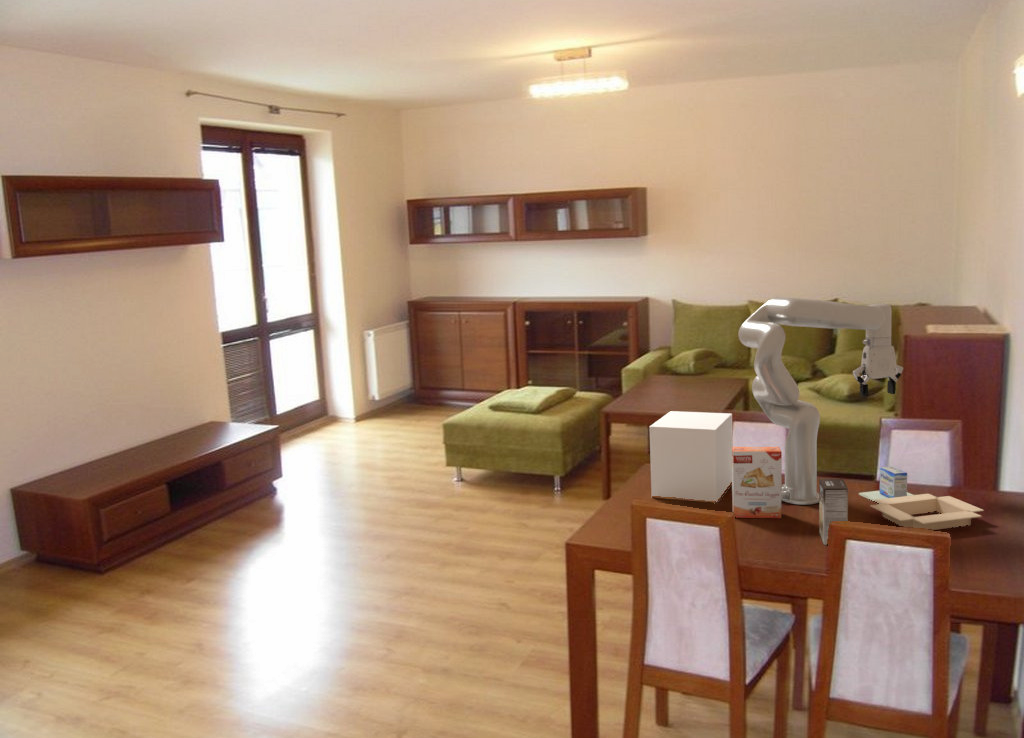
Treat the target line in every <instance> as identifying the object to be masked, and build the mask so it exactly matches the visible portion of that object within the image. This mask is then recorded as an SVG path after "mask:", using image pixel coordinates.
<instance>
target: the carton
mask: <svg viewBox="0 0 1024 738" xmlns="http://www.w3.org/2000/svg"><path fill="white" fill-rule="evenodd" d="M874 501H875V502H878V503H880V504H877V503H876V504H870V505H869V506H870V507H871V508H873V509H875V510H876V511H879V512H881V513H882V514H881V516H883V517H885V518H887V519H888V521H889V520H890V522H891V521H892V523H893V522H895V523H896V525H897V524H898V526H899V527H901V526H904V527H914V528H925V529H932V530H931V531H935V530H942V529H951V528H952V527H953V528H959V526H961V527H967V526H966V525H968V526H971V525H972V519H976V518H982V515H981V514H978V513H977V512H984V511H985V510H984V509H982V508H980V507H978V506H975V505H973V504H970V503H968V502H965V501H962V500H961V499H958V498H955V497H953V496H951V495H946V496H944V495H943V496H935V495H933V494H931V493H921V494H913V495H911V496H903V497H894V498H886V499H877V500H874ZM875 502H874V503H875ZM934 511H937V512H936V513H938V512H939V513H938V514H929V515H921V516H920V514H927V513H928V512H930V513H935V512H934ZM940 513H941V514H940ZM918 514H919V516H913V515H918ZM883 517H882V518H883ZM885 518H884V519H885ZM887 519H886V520H887ZM895 523H894V524H895Z"/></svg>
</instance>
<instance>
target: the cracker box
mask: <svg viewBox="0 0 1024 738" xmlns="http://www.w3.org/2000/svg"><path fill="white" fill-rule="evenodd" d="M782 456H783V455H782V450H781V449H780V446H733V447H732V484H731V497H732V499H731V500H732V501H731V504H732V506H731V508H732V510H731V511H732V513H733V512H734V513H735V514H736V518H735V519H782V500H781V487H782V474H783V473H782V463H783V462H782V459H783V457H782Z"/></svg>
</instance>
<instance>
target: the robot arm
mask: <svg viewBox="0 0 1024 738" xmlns="http://www.w3.org/2000/svg"><path fill="white" fill-rule="evenodd" d="M892 316H893V315H892V306H891V305H890V304H888V303H872V304H867V305H865V304H862V305H861V304H853V303H852V304H851V303H844V302H839V301H838V302H837V301H830V300H822V299H821V300H819V299H807V298H794V297H780V296H779V297H778V296H777V297H773V298H771V299H769V300H767V301H766V302H765V303H764V304H763V305H761V306H760V307H759V308H757V310H755V311H754V312H753V313H752V314H751V315H750V316H748V317H747V319H745V321H744V322H743V323H742V324H740V327H739V329H738V340H739V341H740V343H741V344H742V345H743V346H745V347H746V348H751V349H757V350H756V353H755V356H754V357H755V358H754V363H753V370H754V372H755V374H756V376H755V377H754V379H753V381H752V384H751V391H752V394H753V398H754V399H755V400H756V402H757V403H758V405H759V406H760V408H761V409H762V411H763V412H764V414H765V415H766V416H767V418H768V419H769V421H771V422H772V423H773V424H775V425H776V426H779V427H782V428H785V429H788V433H787V436H786V437H785V441H784V483H783V484H782V483H781V502H785V503H788V504H790V505H791V504H792V505H801V506H802V505H809V506H810V505H815V504H818V503H819V492H818V491H817V486H818V484H817V481H818V479H817V477H818V476H817V475H818V474H817V472H818V471H817V470H818V469H817V467H818V466H817V463H818V462H817V459H818V458H817V457H818V456H817V451H818V450H817V449H818V448H817V442H818V441H817V440H818V439H817V438H818V433H819V432H818V431H819V427H820V423H821V422H820V421H821V414H820V411H819V409H818V408H817V407H816V406H815V405H814V404H813V403H811V402H808V401H804V400H800V399H799V398H800V388H799V386H798V385H797V382H796V381H795V380H794V378H793V377H792V376H791V374H790V372H789V370H788V369H787V368H786V366H785V364H784V362H783V361H782V360H783V359H782V353H783V349H784V345H785V342H786V333H785V329H784V328H783V327H782V326H788V327H789V326H790V327H803V328H804V327H805V328H820V329H848V330H849V329H850V330H851V329H852V330H862V331H863V330H864V331H865V339H863V340H862V344H863V345H865V346H864V347H863V348H862V349H863V350H862V354H861V362H860V363H861V365H860V366H859V367H857V368H856V369H854V370H852V375H853V377H854V379H855V380H856V381H857V382H858V384H859V393H860V394H859V395H860V396H862V397H865V398H868V397H869V385H868V384H867V383H868V382H869V381H870V379H873V380H875V379H884V378H887V379H888V381H887V391H886V392H887V393H888V394H891V395H895V394H896V390H897V388H896V387H897V386H896V385H897V382H898V380H899V378H900V377H901V376H902V373H903V370H904V367H903V366H901V365H898V364H897V356H896V351H895V347H894V346H893V345H892ZM860 374H861V376H860Z"/></svg>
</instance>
